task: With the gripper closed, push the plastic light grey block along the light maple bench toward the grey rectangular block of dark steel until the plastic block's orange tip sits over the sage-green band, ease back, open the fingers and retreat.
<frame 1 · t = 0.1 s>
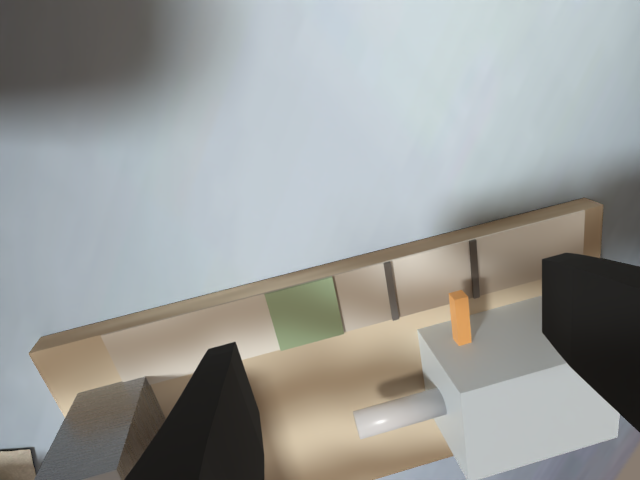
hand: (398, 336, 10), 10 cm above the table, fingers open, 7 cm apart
grey rectangular block: (144, 448, 21), resting on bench
light grey block: (470, 372, 19), point 3 cm above the table, slide at 0.0 cm
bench: (350, 373, 23), on the table
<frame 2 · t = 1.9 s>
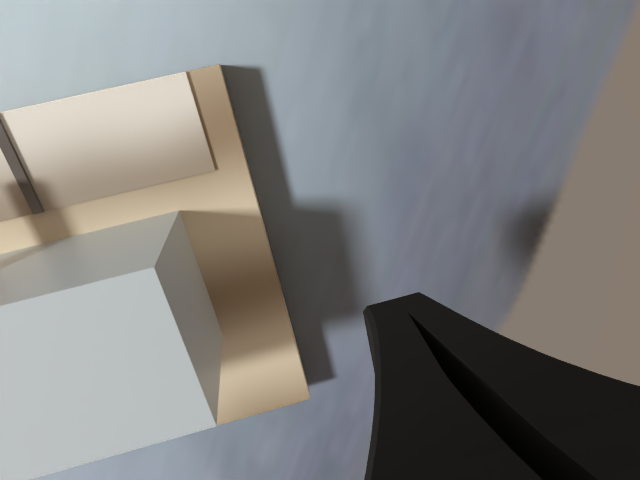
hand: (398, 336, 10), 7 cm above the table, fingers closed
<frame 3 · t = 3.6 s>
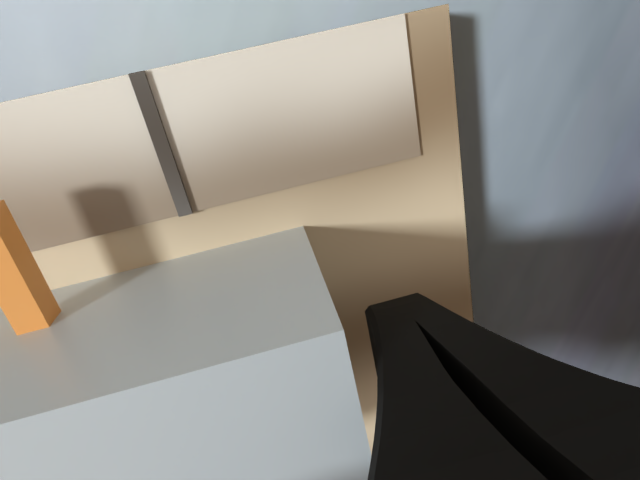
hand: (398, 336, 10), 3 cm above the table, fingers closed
light grey block: (56, 396, 8), point 3 cm above the table, slide at 1.5 cm, touching gripper
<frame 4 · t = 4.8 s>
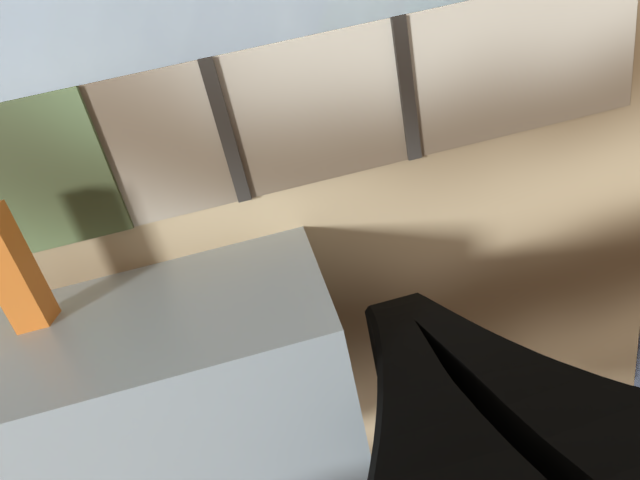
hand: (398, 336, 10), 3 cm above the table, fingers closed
light grey block: (56, 396, 8), point 3 cm above the table, slide at 6.9 cm, touching gripper
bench: (190, 325, 12), on the table
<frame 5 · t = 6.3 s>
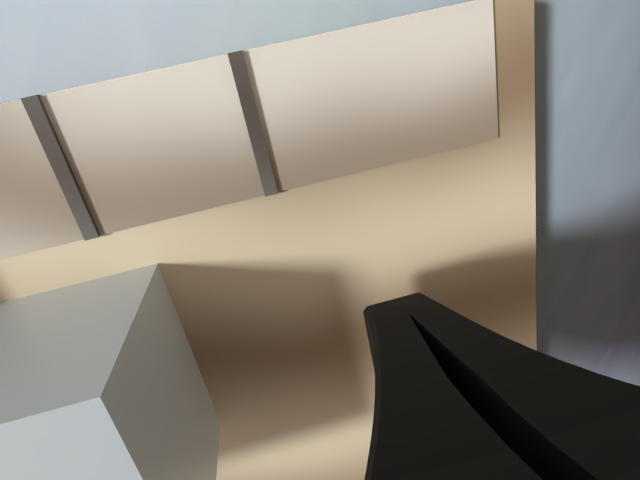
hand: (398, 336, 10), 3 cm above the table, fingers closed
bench: (67, 358, 12), on the table
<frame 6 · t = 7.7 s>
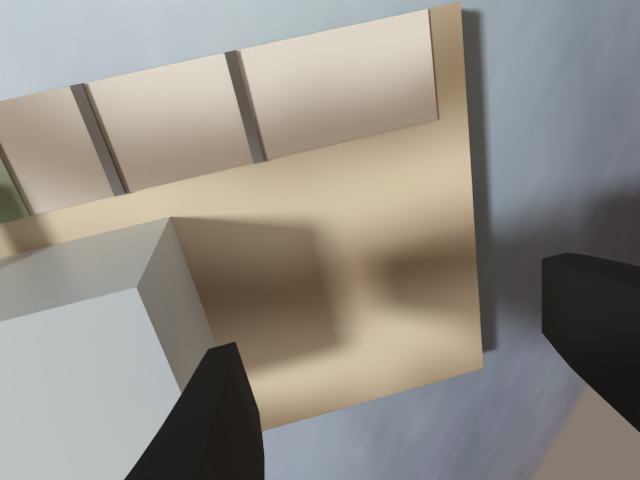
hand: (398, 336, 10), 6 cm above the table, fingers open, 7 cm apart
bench: (95, 298, 15), on the table
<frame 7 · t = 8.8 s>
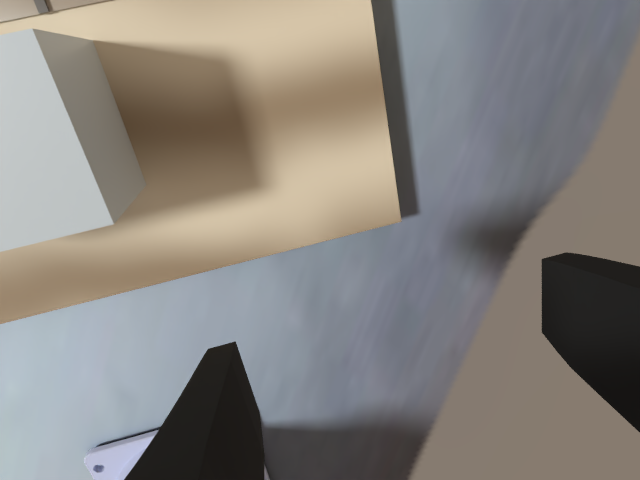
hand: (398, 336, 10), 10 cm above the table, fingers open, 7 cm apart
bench: (33, 135, 16), on the table
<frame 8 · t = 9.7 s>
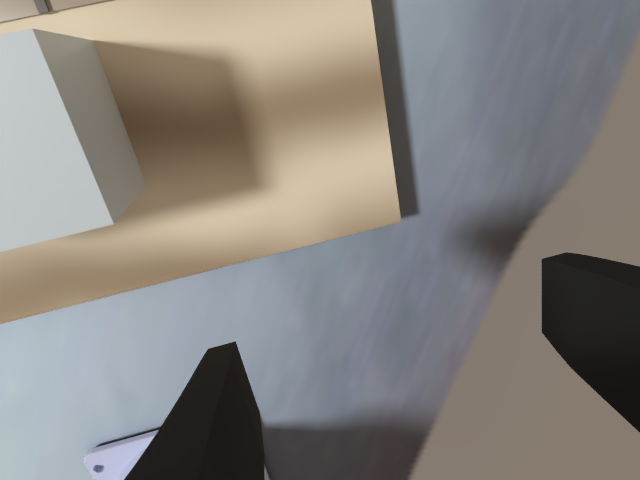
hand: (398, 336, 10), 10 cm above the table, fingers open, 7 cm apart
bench: (33, 135, 16), on the table
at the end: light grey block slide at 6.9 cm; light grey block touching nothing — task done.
